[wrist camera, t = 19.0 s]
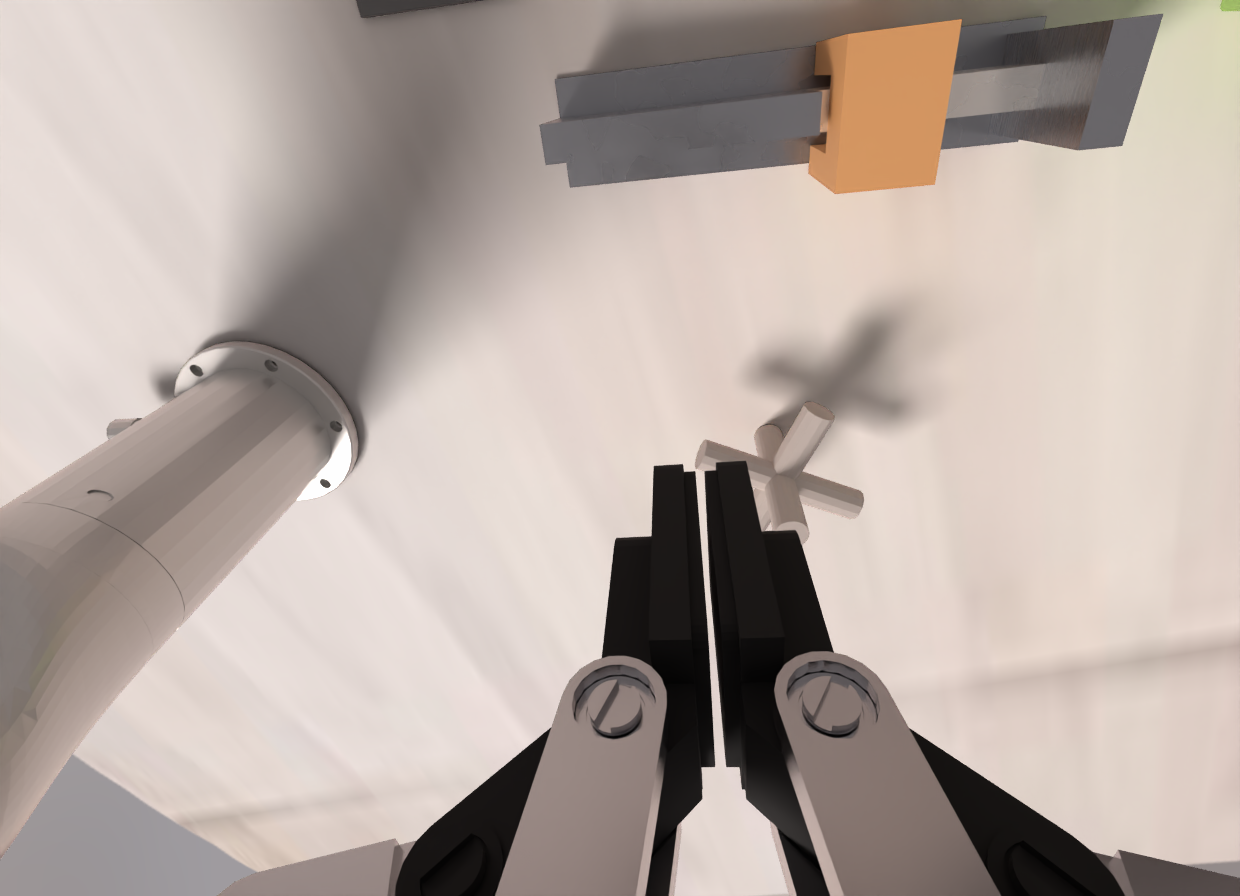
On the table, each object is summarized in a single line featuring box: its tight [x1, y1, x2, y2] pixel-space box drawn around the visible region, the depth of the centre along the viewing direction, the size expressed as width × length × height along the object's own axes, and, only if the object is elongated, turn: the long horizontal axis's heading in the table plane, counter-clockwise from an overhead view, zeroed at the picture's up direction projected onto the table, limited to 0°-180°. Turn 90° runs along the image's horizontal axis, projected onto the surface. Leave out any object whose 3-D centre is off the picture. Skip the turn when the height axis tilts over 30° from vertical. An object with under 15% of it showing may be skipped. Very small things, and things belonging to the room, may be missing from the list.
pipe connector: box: [695, 402, 864, 545], centre depth 35 cm, size 10×10×10 cm
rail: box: [540, 14, 1163, 187], centre depth 26 cm, size 22×5×8 cm, turn 96°
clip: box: [808, 19, 962, 194], centre depth 26 cm, size 4×6×6 cm
